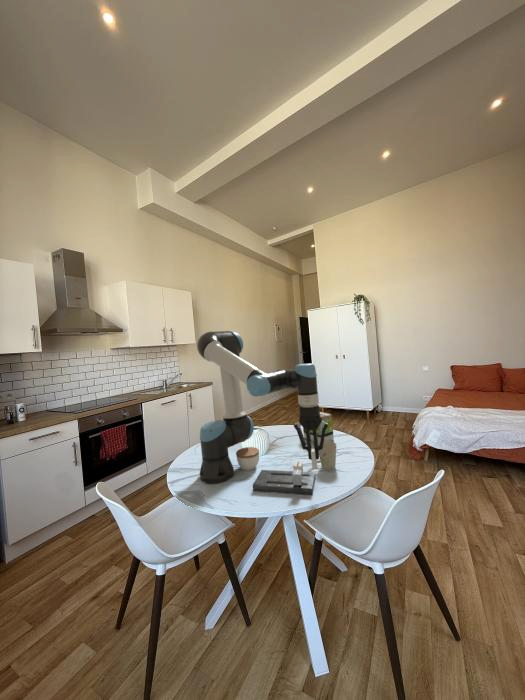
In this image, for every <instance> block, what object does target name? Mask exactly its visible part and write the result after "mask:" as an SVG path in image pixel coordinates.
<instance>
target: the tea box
mask: <svg viewBox="0 0 525 700" xmlns="http://www.w3.org/2000/svg"><path fill="white" fill-rule="evenodd" d="M320 417H321V418H322V421H324V422H325V423H326V422H327V423H328V427H327V429H326V430H325V437H324V441H331V442H333V441H334V437H335V436H334V426H333V414H331V413H328V412H322V411H320ZM321 425H322V424H320V425H319V427H318V429H317V438H318V443H319V442H320V440H321V434H322V427H321ZM302 430H303V431H302V433H303V436H304V439H305V440H307V438H306V430H305V429H304V428H303V427H302ZM310 436H311V442H314V438H313V430H310Z"/></svg>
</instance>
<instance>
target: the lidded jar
mask: <svg viewBox="0 0 525 700" xmlns="http://www.w3.org/2000/svg"><path fill="white" fill-rule="evenodd" d="M235 455H236V461H237V464H238V466H239V467H240V469H242V470H243V471H253V470H254V469H256V467H257V466H258V464H259V462H260V450H259V448H258V447H255V446H248V447H243V448H240V449H238V450H236V452H235Z"/></svg>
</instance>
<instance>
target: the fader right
mask: <svg viewBox="0 0 525 700" xmlns="http://www.w3.org/2000/svg"><path fill="white" fill-rule="evenodd" d="M293 471H294V472H293V485H302V481H303V477H302V470H294V469H293Z"/></svg>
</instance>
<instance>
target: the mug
mask: <svg viewBox="0 0 525 700" xmlns="http://www.w3.org/2000/svg"><path fill="white" fill-rule="evenodd" d="M319 445H320V442H319V443H318V446H319ZM311 449H315V448H314V447H312V448H311ZM336 459H337V444H336V443H335V442H334V441H324V444H323V449H322V450H319V460H317V464H319V463H320V466H321V468H322V469H323V470H327V471H329V470H334V469H335V468H336V462H337V460H336ZM309 460H310V461H311V462H312V459H309Z"/></svg>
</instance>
